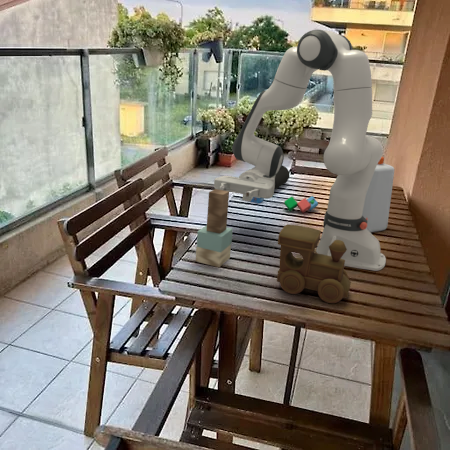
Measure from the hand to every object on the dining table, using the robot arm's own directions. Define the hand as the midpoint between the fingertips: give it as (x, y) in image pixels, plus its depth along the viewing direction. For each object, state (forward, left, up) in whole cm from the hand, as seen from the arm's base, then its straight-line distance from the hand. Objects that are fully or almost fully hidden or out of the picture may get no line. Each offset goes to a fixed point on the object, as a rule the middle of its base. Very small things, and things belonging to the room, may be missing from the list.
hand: (234, 192), depth 143 cm
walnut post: (0, +12, -9) cm, 15 cm away
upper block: (0, +12, -14) cm, 19 cm away
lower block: (0, +12, -19) cm, 23 cm away
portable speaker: (+13, -78, -19) cm, 81 cm away
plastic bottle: (-36, -49, -19) cm, 63 cm away
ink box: (+13, -53, -19) cm, 58 cm away
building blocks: (-9, -52, -19) cm, 56 cm away
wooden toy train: (-32, +15, -19) cm, 40 cm away
